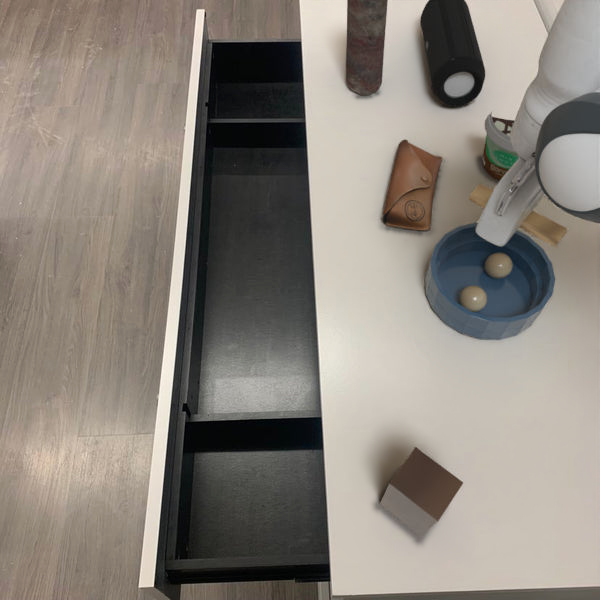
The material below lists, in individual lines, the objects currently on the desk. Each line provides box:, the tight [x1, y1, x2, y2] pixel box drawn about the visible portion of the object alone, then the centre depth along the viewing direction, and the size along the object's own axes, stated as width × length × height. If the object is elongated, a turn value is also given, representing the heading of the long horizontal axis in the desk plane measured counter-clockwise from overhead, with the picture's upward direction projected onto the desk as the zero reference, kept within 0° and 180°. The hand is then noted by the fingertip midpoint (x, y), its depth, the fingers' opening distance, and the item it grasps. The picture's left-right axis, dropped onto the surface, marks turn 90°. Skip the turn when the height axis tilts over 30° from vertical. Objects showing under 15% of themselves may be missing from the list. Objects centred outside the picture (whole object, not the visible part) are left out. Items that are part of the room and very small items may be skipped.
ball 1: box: [459, 285, 487, 312], centre depth 78 cm, size 4×4×4 cm
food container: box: [481, 111, 519, 182], centre depth 90 cm, size 12×6×10 cm, turn 70°
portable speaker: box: [419, 0, 486, 108], centre depth 105 cm, size 26×10×10 cm, turn 179°
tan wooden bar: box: [468, 182, 569, 248], centre depth 66 cm, size 12×2×1 cm, turn 50°
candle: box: [345, 0, 388, 96], centre depth 100 cm, size 8×7×20 cm
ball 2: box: [485, 253, 513, 279], centre depth 81 cm, size 4×4×4 cm
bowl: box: [424, 221, 556, 341], centre depth 79 cm, size 17×17×6 cm
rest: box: [379, 446, 464, 538], centre depth 61 cm, size 6×5×12 cm
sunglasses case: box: [382, 139, 443, 232], centre depth 92 cm, size 18×7×7 cm
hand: (516, 216), depth 66 cm, fingers closed on tan wooden bar, 2 cm apart
